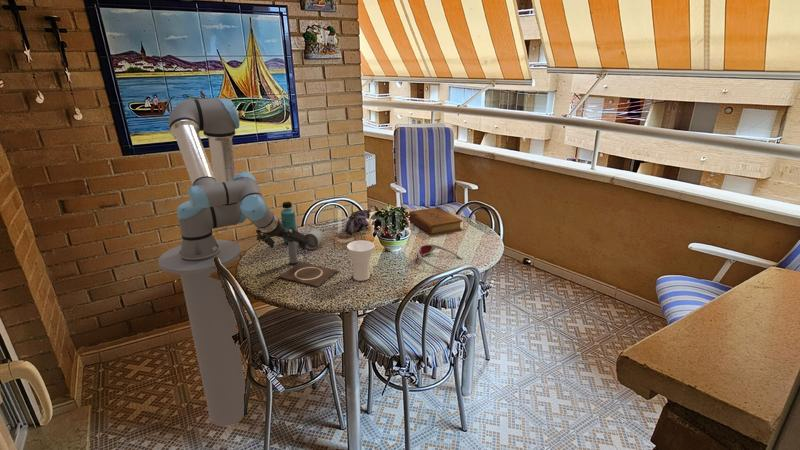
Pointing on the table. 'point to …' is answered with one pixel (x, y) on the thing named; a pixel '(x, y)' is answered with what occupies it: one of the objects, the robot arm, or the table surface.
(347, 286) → the table surface
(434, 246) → the sunglasses
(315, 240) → the ceramic mug
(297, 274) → the drawing board
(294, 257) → the cylinder
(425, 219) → the diary
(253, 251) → the table surface
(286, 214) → the beverage bottle
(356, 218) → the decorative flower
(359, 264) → the cup
